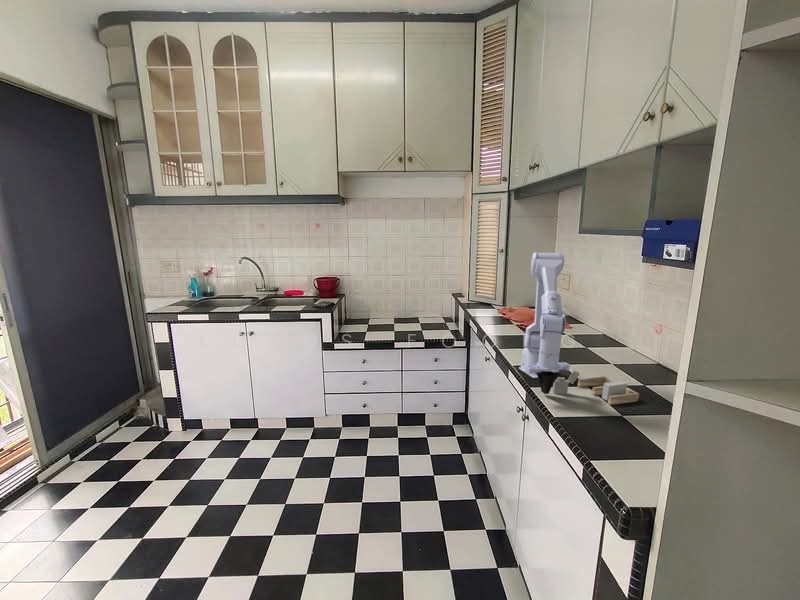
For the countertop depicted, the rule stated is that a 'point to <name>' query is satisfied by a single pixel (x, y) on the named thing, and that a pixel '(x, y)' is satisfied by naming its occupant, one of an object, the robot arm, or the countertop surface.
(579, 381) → the rack
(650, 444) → the countertop surface
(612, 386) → the grey block
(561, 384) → the lighter
